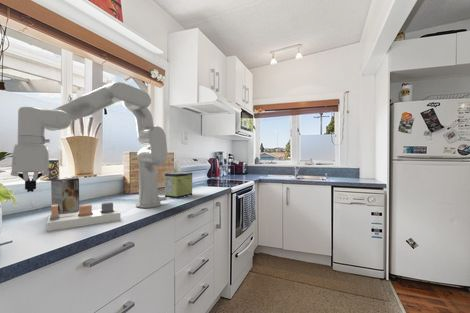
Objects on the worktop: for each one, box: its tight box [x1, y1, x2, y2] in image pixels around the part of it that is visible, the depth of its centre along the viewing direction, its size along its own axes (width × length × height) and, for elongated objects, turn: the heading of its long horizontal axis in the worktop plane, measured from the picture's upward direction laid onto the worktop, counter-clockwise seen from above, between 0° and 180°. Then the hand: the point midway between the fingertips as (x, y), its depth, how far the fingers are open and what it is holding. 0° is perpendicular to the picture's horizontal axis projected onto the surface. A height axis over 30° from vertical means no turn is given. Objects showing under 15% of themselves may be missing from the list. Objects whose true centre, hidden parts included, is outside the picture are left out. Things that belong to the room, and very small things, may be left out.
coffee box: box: [50, 177, 80, 214], centre depth 110 cm, size 9×6×16 cm
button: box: [101, 202, 114, 213], centre depth 100 cm, size 4×4×4 cm
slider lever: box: [49, 204, 60, 220], centre depth 89 cm, size 3×4×5 cm
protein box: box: [164, 171, 193, 199], centre depth 154 cm, size 10×16×16 cm
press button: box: [78, 204, 93, 217], centre depth 96 cm, size 4×4×4 cm
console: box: [47, 207, 121, 232], centre depth 96 cm, size 24×12×3 cm, turn 127°
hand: (30, 191), depth 85 cm, fingers closed
